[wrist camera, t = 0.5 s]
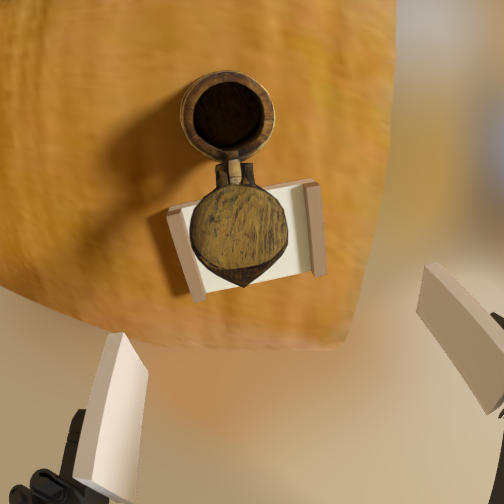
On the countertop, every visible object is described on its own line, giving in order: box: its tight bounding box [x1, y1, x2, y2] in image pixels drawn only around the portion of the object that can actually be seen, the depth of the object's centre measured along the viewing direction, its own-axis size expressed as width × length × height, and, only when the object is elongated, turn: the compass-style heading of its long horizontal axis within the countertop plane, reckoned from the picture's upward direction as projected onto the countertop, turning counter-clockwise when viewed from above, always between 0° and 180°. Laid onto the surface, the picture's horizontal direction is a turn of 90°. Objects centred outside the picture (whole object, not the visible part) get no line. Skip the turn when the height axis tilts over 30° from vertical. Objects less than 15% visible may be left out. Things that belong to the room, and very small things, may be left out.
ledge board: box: [166, 178, 327, 302], centre depth 34 cm, size 11×16×3 cm
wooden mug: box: [180, 70, 288, 288], centre depth 22 cm, size 9×14×18 cm, turn 2°
